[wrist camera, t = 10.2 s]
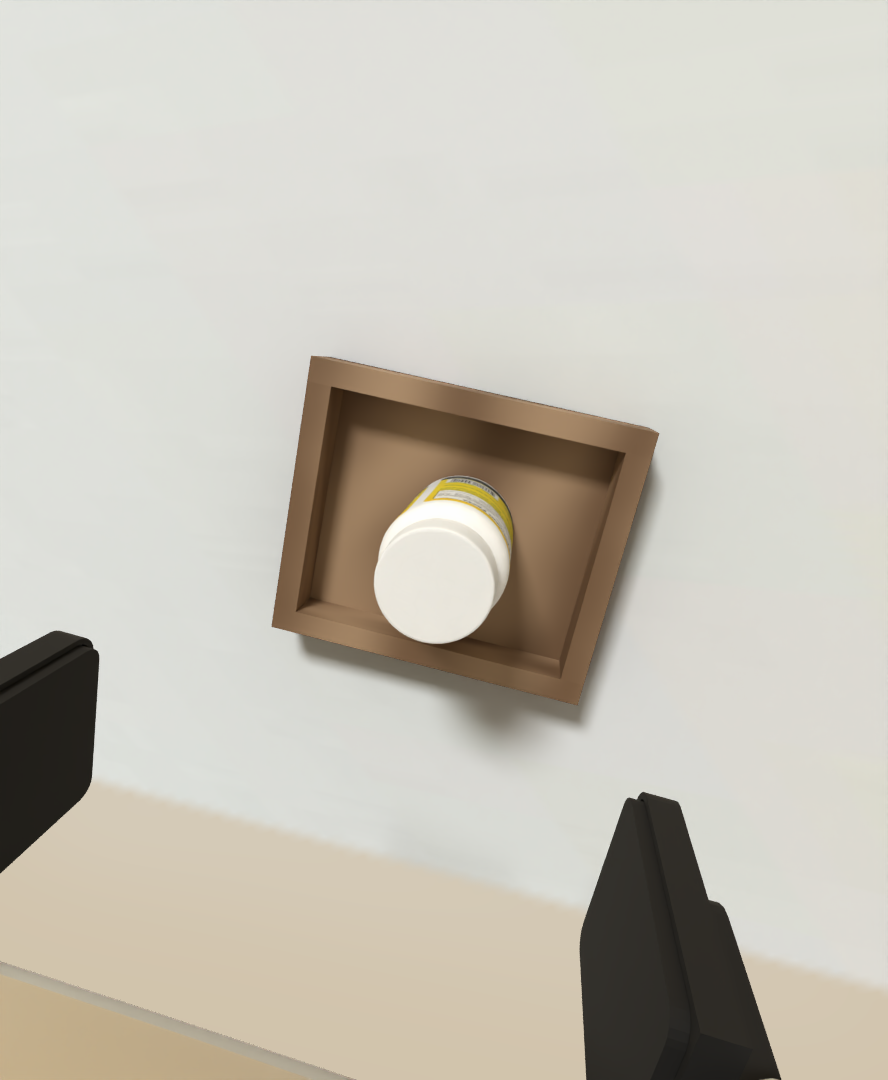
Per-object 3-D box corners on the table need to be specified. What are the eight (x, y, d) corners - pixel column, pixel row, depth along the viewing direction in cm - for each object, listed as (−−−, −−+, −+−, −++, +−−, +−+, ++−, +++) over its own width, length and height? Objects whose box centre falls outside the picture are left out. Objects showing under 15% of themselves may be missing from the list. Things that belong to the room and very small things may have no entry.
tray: (648, 427, 27) (659, 433, 25) (574, 679, 31) (577, 705, 28) (330, 356, 28) (310, 355, 26) (291, 607, 32) (271, 626, 29)
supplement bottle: (433, 592, 30) (395, 674, 22) (391, 498, 29) (335, 548, 21) (531, 555, 29) (529, 627, 21) (490, 457, 28) (471, 492, 20)
